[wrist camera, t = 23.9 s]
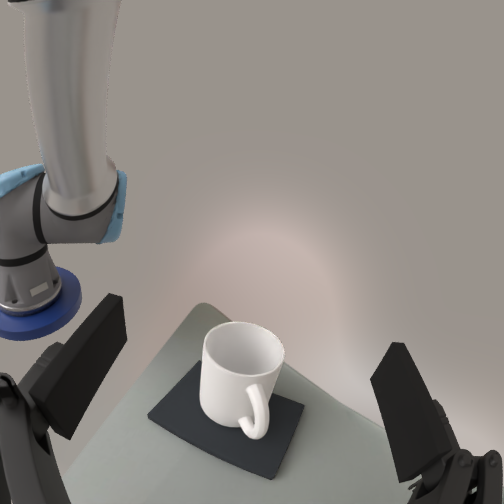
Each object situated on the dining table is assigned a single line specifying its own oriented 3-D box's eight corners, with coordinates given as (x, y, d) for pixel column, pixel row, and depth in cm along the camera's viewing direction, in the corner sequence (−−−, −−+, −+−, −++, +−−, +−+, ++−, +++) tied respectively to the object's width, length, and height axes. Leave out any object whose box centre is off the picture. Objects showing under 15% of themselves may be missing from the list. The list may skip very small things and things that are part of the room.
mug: (286, 446, 25) (315, 397, 21) (215, 461, 22) (223, 415, 18) (253, 376, 35) (268, 319, 31) (193, 381, 32) (197, 322, 29)
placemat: (147, 418, 26) (147, 414, 26) (198, 364, 37) (199, 360, 36) (271, 480, 21) (273, 477, 21) (303, 408, 32) (305, 404, 32)
